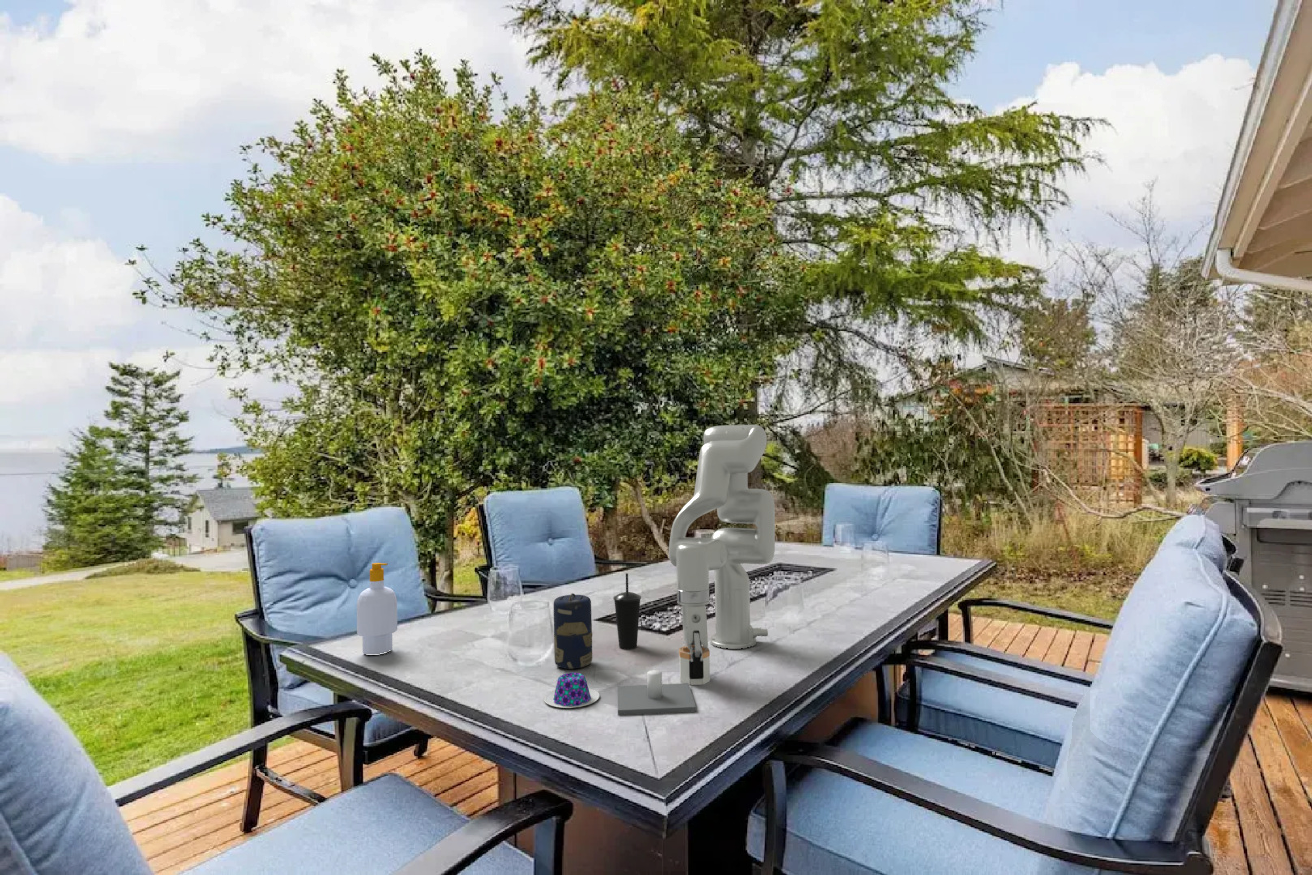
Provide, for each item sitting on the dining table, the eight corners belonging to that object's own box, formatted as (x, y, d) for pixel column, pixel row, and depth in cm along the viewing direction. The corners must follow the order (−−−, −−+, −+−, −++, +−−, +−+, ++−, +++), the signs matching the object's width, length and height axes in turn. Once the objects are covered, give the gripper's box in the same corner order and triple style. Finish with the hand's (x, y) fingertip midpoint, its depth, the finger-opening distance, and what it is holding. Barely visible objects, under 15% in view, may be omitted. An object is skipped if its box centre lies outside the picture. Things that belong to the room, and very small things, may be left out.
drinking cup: (638, 651, 181) (637, 576, 181) (610, 650, 183) (609, 575, 183) (644, 643, 188) (643, 571, 189) (618, 642, 190) (616, 570, 190)
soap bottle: (383, 659, 178) (382, 567, 179) (348, 657, 180) (347, 566, 181) (405, 647, 188) (404, 560, 189) (372, 646, 190) (371, 560, 191)
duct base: (688, 687, 153) (688, 660, 153) (695, 711, 139) (695, 682, 139) (617, 690, 152) (617, 663, 152) (617, 714, 138) (617, 685, 138)
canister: (598, 661, 174) (597, 590, 174) (582, 673, 165) (581, 598, 165) (565, 657, 177) (563, 588, 177) (547, 669, 168) (546, 596, 168)
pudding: (552, 715, 140) (552, 689, 140) (537, 695, 151) (537, 672, 151) (607, 705, 145) (606, 680, 145) (589, 687, 156) (589, 664, 156)
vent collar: (707, 674, 162) (706, 644, 162) (711, 684, 155) (710, 653, 155) (678, 675, 162) (678, 645, 162) (681, 685, 155) (680, 654, 155)
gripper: (714, 604, 150) (716, 685, 150) (704, 588, 168) (705, 660, 167) (680, 605, 150) (682, 686, 150) (673, 589, 167) (675, 661, 167)
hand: (694, 672), depth 158 cm, fingers closed on vent collar, 6 cm apart
